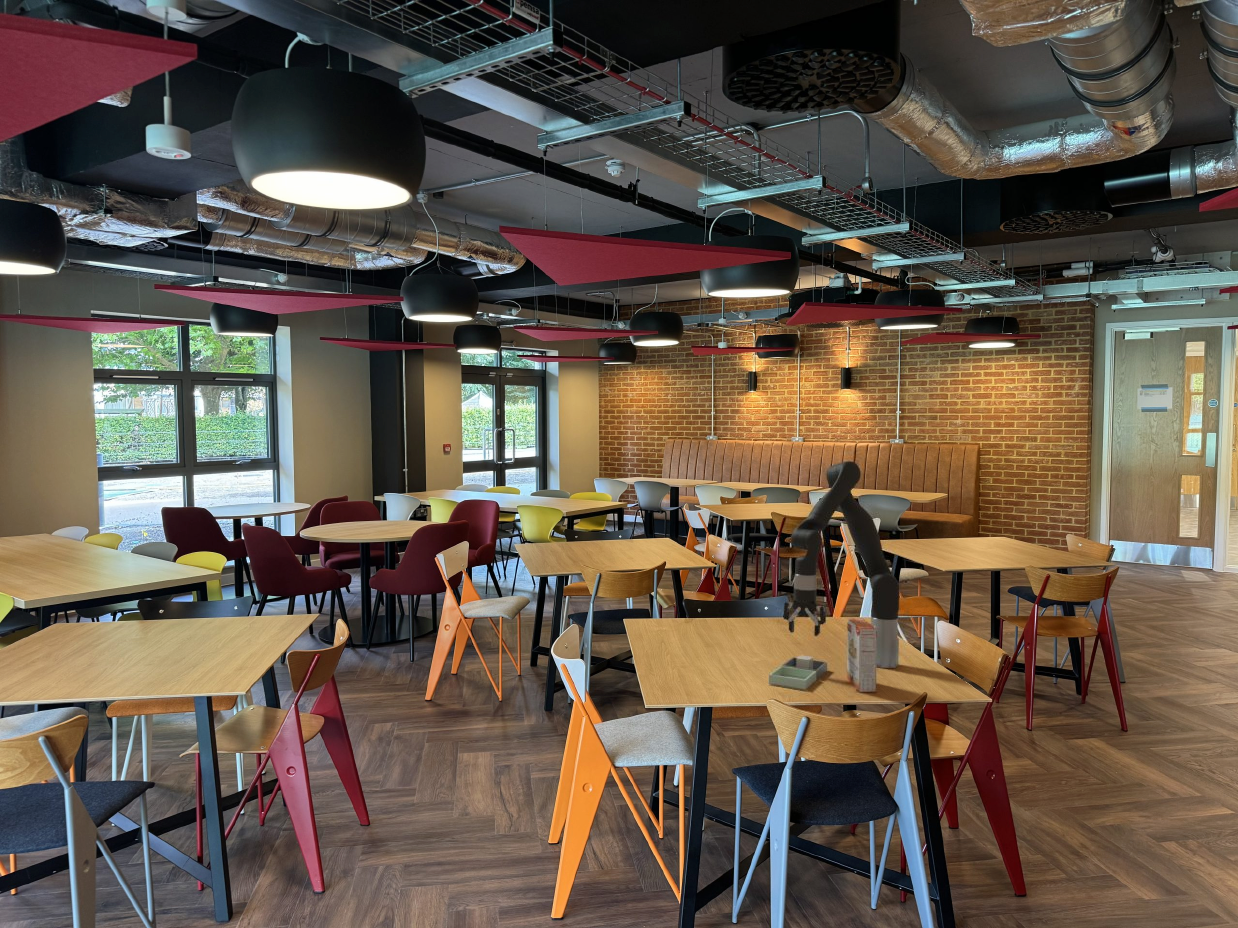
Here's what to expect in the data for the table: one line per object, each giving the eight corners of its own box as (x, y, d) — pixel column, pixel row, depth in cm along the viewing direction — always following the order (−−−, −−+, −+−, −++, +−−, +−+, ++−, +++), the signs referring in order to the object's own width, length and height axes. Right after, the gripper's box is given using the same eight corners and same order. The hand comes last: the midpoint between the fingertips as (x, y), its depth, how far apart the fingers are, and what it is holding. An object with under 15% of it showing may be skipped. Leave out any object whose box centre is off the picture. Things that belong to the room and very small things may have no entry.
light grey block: (812, 671, 271) (813, 656, 271) (809, 674, 267) (809, 660, 267) (800, 669, 273) (800, 655, 273) (796, 672, 270) (796, 658, 269)
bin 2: (827, 672, 273) (827, 662, 272) (817, 680, 262) (817, 670, 262) (792, 666, 279) (793, 657, 279) (781, 675, 268) (781, 665, 268)
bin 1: (816, 681, 261) (816, 671, 261) (805, 691, 251) (805, 680, 251) (780, 675, 267) (781, 665, 267) (768, 685, 257) (768, 674, 257)
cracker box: (845, 679, 264) (846, 617, 263) (863, 679, 264) (864, 618, 263) (857, 692, 250) (858, 627, 249) (876, 692, 250) (877, 627, 249)
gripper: (828, 587, 270) (827, 634, 270) (788, 583, 277) (787, 628, 277) (822, 591, 263) (821, 639, 264) (781, 586, 271) (780, 633, 271)
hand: (804, 633), depth 270 cm, fingers open, 8 cm apart
